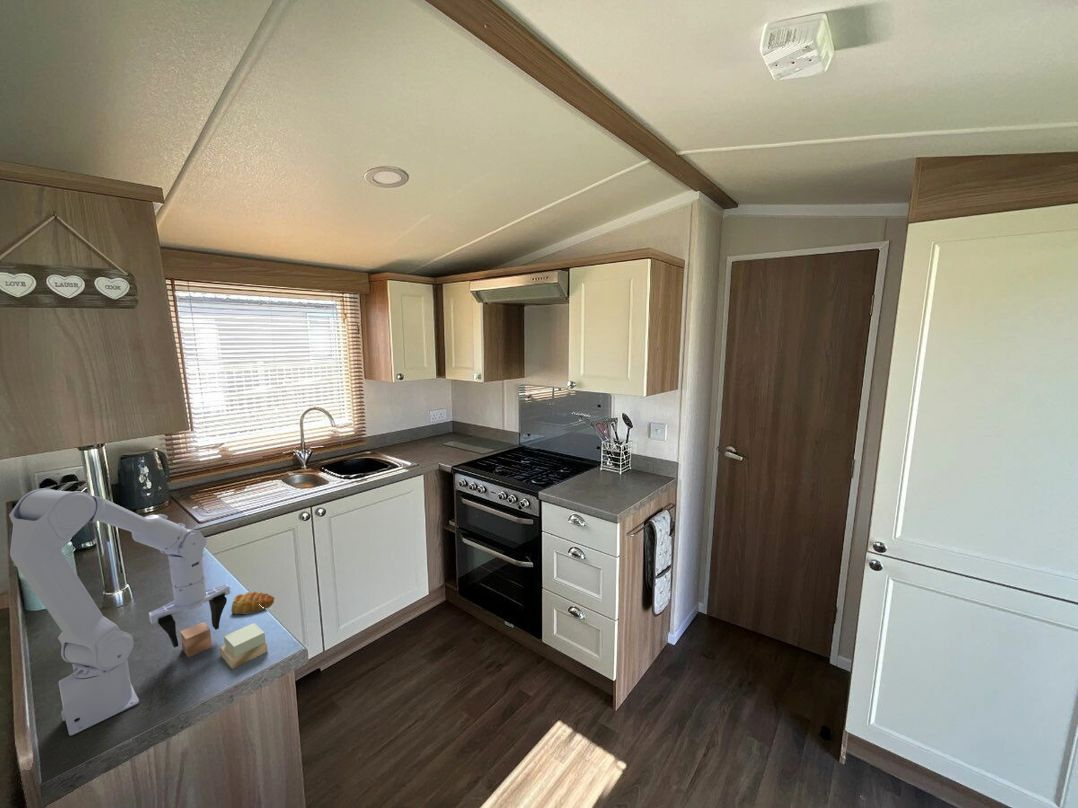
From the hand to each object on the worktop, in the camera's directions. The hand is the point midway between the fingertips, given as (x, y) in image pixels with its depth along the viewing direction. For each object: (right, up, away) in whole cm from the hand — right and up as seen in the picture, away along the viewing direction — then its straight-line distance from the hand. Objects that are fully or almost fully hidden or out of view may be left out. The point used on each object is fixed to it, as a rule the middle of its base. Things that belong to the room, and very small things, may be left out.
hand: (196, 636), depth 103 cm
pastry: (+2, -1, +16) cm, 17 cm away
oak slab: (+12, -3, -2) cm, 13 cm away
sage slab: (+13, -1, -2) cm, 13 cm away
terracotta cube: (0, -3, 0) cm, 3 cm away
